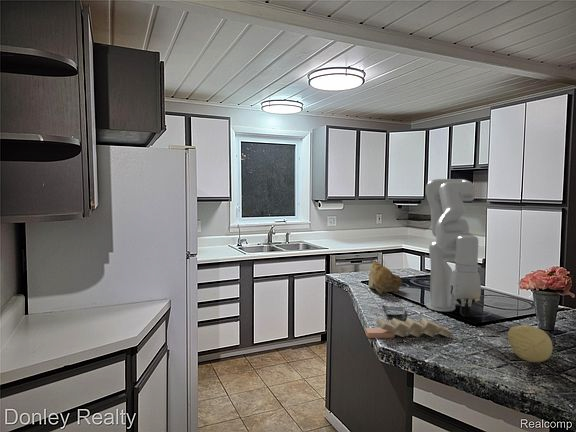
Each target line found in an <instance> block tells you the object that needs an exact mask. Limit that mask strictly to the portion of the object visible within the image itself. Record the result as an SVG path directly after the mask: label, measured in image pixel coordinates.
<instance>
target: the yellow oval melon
mask: <svg viewBox="0 0 576 432" xmlns="http://www.w3.org/2000/svg"><path fill="white" fill-rule="evenodd" d="M551 339H552V338H551V337H550V336H549V335H548V334H547V332H546V331H544V330H542V329H541V328H538V327H536V326H532V325H527V324H522V325H516V326H515V325H514V326H511V327H510V328H509V330H508V331H507V342H508V343H509V344H510V347H511V349H512V351H513V352H514V354H515V355H516V356H517V357H518V358H519V359H521V360H523V361H526V362H530V363H541V362H545V361H547V360H548V359H549V358H550V357H551V356H552V354H553V350H554V349H553V347H554V345H553V342H552V340H551Z"/></svg>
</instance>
